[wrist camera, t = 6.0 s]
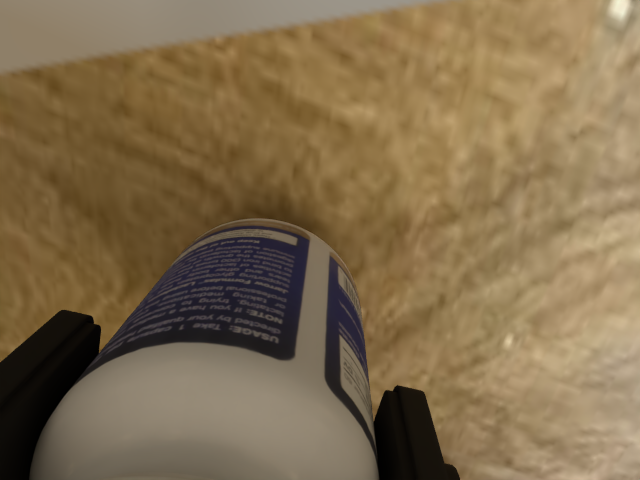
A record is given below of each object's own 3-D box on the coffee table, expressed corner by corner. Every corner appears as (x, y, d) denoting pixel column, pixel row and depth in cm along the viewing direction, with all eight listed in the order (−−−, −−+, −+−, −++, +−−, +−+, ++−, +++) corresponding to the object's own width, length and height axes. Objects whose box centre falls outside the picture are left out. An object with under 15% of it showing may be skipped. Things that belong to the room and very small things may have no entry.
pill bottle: (138, 328, 15) (-198, 764, 6) (227, 174, 13) (-37, 420, 4) (296, 414, 16) (239, 916, 6) (398, 279, 14) (524, 690, 5)
